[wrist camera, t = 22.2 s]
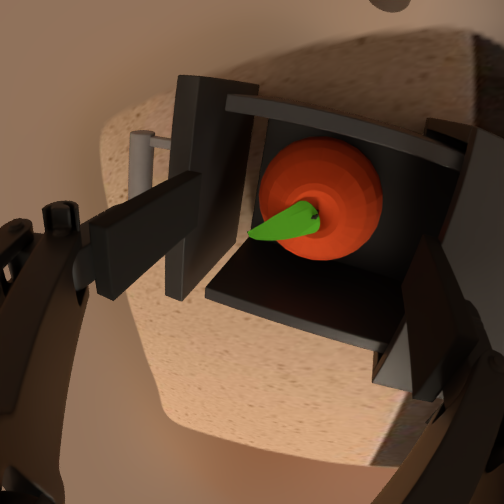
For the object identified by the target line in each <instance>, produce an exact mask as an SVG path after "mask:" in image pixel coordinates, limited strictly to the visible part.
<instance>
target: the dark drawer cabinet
mask: <svg viewBox="0 0 504 504" xmlns="http://www.w3.org/2000/svg"><path fill="white" fill-rule="evenodd" d="M423 135H424V136H427V137H430V138H433V139H436V140H438V141H441V142H444V143H446V144H449V145H452V146H454V147H457V148H459V149H462V150H464V151H466V153H465V157H464V161H463V164H462V168H461V171H460V175H459V178H458V181H457V184H456V188H455V191H454V194H453V197H452V200H451V203H450V206H449V209H448V212H447V215H446V217H445V220H444V223H443V226H442V228H441V231H440V234H439V236H438V240H439V242H440V244H441V246H442V248H443V250H444V252H445V254H446V257H447V259H448V261H449V263H450V265H451V268H452V270H453V272H454V274H455V277H456V279H457V281H458V284H459V286H460V289H461V291H462V293H463V296H464V298H465V299H466V300H469V301H471V303H472V304H473V305H474V306H475V308H476V309H477V310H478V312H479V315H480V317H481V321H482V322H483V325H484V329H485V330H486V333H487V336H488V338H489V341H490V344H491V347H492V350H495V351H497V352H499V353H501V354H502V355H503V356H504V139H503V138H501V137H499V136H497V135H495V134H493V133H491V132H489V131H486V130H484V129H482V128H480V127H476V126H472V125H467V124H462V123H457V122H452V121H446V120H441V119H435V118H427V120H426V125H425V129H424V133H423ZM372 383H375V384H379V385H383V386H387V387H391V388H395V389H399V390H404V391H408V392H412V378H411V364H410V352H409V342H408V332H407V324H406V316H405V314H404V316H403V318H402V320H401V322H400V324H399V326H398V328H397V330H396V332H395V334H394V335H393V337H392V339H391V341H390V343H389V345H388V347H387V348H386V350H385V352H384V354H383V353H379V352H375V351H374V355H373V373H372ZM437 398H441V399H444V398H443V390H442V392H441V393H440V394H439V395H438V396H437Z"/></svg>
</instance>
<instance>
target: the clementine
mask: <svg viewBox="0 0 504 504" xmlns="http://www.w3.org/2000/svg"><path fill="white" fill-rule="evenodd" d="M259 203H260V211H261V214H262V217H263V219H264V223H262V224H260V225H259V226H257V227H255V228H254V229H252V230H250V231H247V233H248V235H249V237H251V238H253V239H256V240H276V241H277V242H278V243H280V244H281V245H282V246H283V247H284V248H285V249H286V250H288V251H290V252H292V253H293V254H295V255H297V256H299V257H303V258H306V259H310V260H324V261H327V260H332V259H336V258H341V257H344V256H346V255H348V254H350V253H352V252H354V251H356V250H358V249H359V248H360V247H361V246H362V245H363V244H364V243H366V242H367V241H368V240H369V238H370V237H371V235H372V234H373V232H374V231H375V229H376V228H377V225H378V222H379V219H380V215H381V212H382V205H383V190H382V187H381V183H380V179H379V175H378V174H377V172H376V170H375V168H374V167H373V165H372V163H371V161H370V160H369V159H368V158H367V157H366V156H365V155H364V154H363V153H362V152H361V151H360V150H359V149H357V148H356V147H354V146H352V145H350V144H348V143H347V142H345V141H343V140H339V139H335V138H331V137H327V136H321V137H307V138H304V139H301V140H298V141H294V142H293V143H291V144H290V145H288V146H287V147H285V148H283V149H282V150H280V152H279V153H278V154H277V155H276V156H275V157H274V158H273V160H272V161H271V162H270V163H269V165H268V167H267V169H266V171H265V173H264V175H263V177H262V180H261V185H260V191H259Z"/></svg>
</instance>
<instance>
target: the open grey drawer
mask: <svg viewBox="0 0 504 504" xmlns="http://www.w3.org/2000/svg"><path fill="white" fill-rule="evenodd" d="M258 91H259V85H258V84H252V83H246V82H240V81H234V80H227V79H220V78H212V77H204V76H192V75H179V76H178V80H177V88H176V96H175V105H174V115H173V125H172V136H171V138H165V137H158V136H155V132H153V131H147V130H138V131H132V132H131V133H130V148H129V182H128V200H130V199H132V198H133V197H135V196H137V195H139V194H141V193H143V192H145V191H147V190H149V189H151V188H152V176H153V157H154V147H157V148H163V149H169V150H170V160H169V175H168V179H170V178H172V177H174V176H176V175H178V174H181V173H183V172H185V171H187V170H190V171H194V172H199V173H202V180H201V190H200V201H199V213H198V225H197V227H196V228H195V229H194V230H193V231H192V232H191V233H189V234H188V235H187V236H186V237H185V238H184V239H182V240H181V241H180V242H179V243H178V244H177V245H175V246H174V247H173V248H172V249H171V250H170V251H169V252H167V253H166V254H165V295H166V296H168V297H171V298H173V299H176V300H179V301H183V300H184V299H185V298H186V296H187V295H188V294H189V293H190V292H191V291H192V290H193V289H194V288H195V286H196V285H197V284H198V283H199V282H200V281H201V280H202V279H203V278H204V277H205V275H206V274H207V273H208V272H209V271H210V270H211V269H212V268H213V267H214V266H215V265H216V263H217V262H218V261H219V260H220V259H221V258H222V257H223V256H224V255H225V254H226V252H227V251H228V250H229V249H230V248H231V247H232V246H233V245H234V244H235V243H236V237H237V230H238V223H239V216H240V209H241V202H242V195H243V188H244V181H245V175H246V168H247V161H248V155H249V148H250V142H251V135H252V129H253V122H254V116H260V117H266V118H269V120H268V126H267V132H266V138H265V145H264V151H263V157H262V163H261V169H260V175H259V181H258V187H257V193H256V199H255V206H254V212H253V218H252V224H251V230H252V229H254V228H255V227H257V226H259V225H260V224H262V223H264V219H263V217H262V214H261V211H260V203H259V191H260V185H261V180H262V177H263V175H264V173H265V171H266V169H267V167H268V165H269V163H270V162H271V161H272V160H273V158H274V157H275V156H276V155H277V154H278V153H279V152H280V150H282V149H283V148H285V147H287V146H288V145H290V144H291V143H293V142H294V141H298V140H301V139H304V138H307V137H321V136H327V137H331V138H335V139H339V140H343V141H345V142H347V143H348V144H350V145H352V146H354V147H356V148H357V149H359V150H360V151H361V152H362V153H363V154H364V155H365V156H366V157H367V158H368V159H369V160H370V161H371V163H372V165H373V167H374V168H375V170H376V172H377V174H378V175H379V179H380V183H381V187H382V190H383V205H382V212H381V215H380V219H379V222H378V225H377V228H376V229H375V231H374V232H373V234H372V235H371V237H370V238H369V240H368V241H367V242H366V243H364V244H363V245H362V246H361V247H360V248H359V249H358V250H356V251H354V252H352V253H350V254H348V255H346V256H344V257H341V258H336V259H332V260H327V261H324V260H310V259H306V258H303V257H299V256H297V255H295V254H293V253H292V252H290V251H288V250H286V249H285V248H284V247H283V246H282V245H281V244H280V243H278V242H277V241H276V240H256V239H253V238H251V237H248V239H247V240H246V241H245V242H244V243H243V244H242V245H241V247H240V248H239V249H238V250H237V251H236V252H235V254H234V255H233V256H232V257H231V258H230V259H229V261H228V262H227V263H226V264H225V265H224V266H223V267H222V269H221V270H220V271H219V272H218V273H217V274H216V276H215V277H214V278H213V279H212V280H211V281H210V283H209V284H208V285H207V286H206V287H205V298H206V299H209V300H212V301H215V302H218V303H221V304H223V305H226V306H229V307H232V308H235V309H238V310H241V311H244V312H247V313H250V314H253V315H256V316H259V317H262V318H265V319H268V320H271V321H274V322H277V323H281V324H284V325H287V326H290V327H293V328H296V329H300V330H303V331H306V332H309V333H313V334H316V335H319V336H323V337H326V338H329V339H333V340H336V341H340V342H343V343H347V344H350V345H354V346H357V347H361V348H364V349H368V350H371V351H375V352H379V353H383V354H384V352H385V350H386V348H387V347H388V345H389V343H390V341H391V339H392V337H393V335H394V334H395V332H396V330H397V328H398V326H399V324H400V322H401V320H402V318H403V316H404V314H405V308H404V301H403V294H402V287H401V285H402V283H403V281H404V279H405V276H406V274H407V272H408V269H409V267H410V265H411V262H412V260H413V257H414V255H415V253H416V250H417V248H418V245H419V242H420V240H421V237H422V235H423V234H426V235H429V236H432V237H435V238H438V236H439V234H440V231H441V228H442V226H443V223H444V220H445V217H446V215H447V212H448V209H449V206H450V203H451V200H452V197H453V194H454V191H455V188H456V184H457V181H458V178H459V175H460V171H461V168H462V164H463V161H464V157H465V153H466V151H464V150H462V149H459V148H457V147H454V146H452V145H449V144H446V143H444V142H441V141H438V140H436V139H433V138H430V137H427V136H424V135H422V134H419V133H416V132H413V131H410V130H407V129H404V128H401V127H397V126H394V125H391V124H388V123H384V122H381V121H377V120H374V119H370V118H367V117H363V116H360V115H356V114H352V113H348V112H344V111H340V110H336V109H332V108H327V107H323V106H318V105H314V104H309V103H304V102H299V101H294V100H289V99H283V98H278V97H268V96H258Z"/></svg>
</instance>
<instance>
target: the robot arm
mask: <svg viewBox="0 0 504 504" xmlns="http://www.w3.org/2000/svg"><path fill="white" fill-rule="evenodd" d="M201 180H202V173H199V172H194V171H190V170H187V171H185V172H183V173H181V174H178V175H176V176H174V177H172V178H170V179H168V180H166V181H164V182H162V183H160V184H158V185H156V186H154V187H152V188H151V189H149V190H147V191H145V192H143V193H141V194H139V195H137V196H135V197H133V198H132V199H130V200H128V201H126V202H124V203H122V204H118V205H115V206H113V207H111V208H109V209H107V210H106V211H105V212H102V213H100V214H98V216H97V215H96V216H95V217H93V218H91V219H90V220H88V221H86V222H84V223H82V224H81V225H80V220H79V207H78V204H77V203H75V202H73V201H57V202H53V203H50V204H48V205H46V206H45V207H44V208H42V213H43V220H44V227H45V233H44V234H41V233H34V232H33V226H32V222H31V221H30V220H28V219H21V218H18V219H14V220H12V221H10V222H8V223H6V224H5V225H3V226H2V227H1V228H0V504H65V494H64V493H65V491H64V485H63V481H62V478H61V475H60V471H59V456H60V445H61V436H62V428H63V419H64V413H65V405H66V399H67V392H68V387H69V381H70V376H71V371H72V366H73V361H74V356H75V351H76V346H77V342H78V338H79V333H80V329H81V325H82V321H83V317H84V313H85V309H86V305H87V301H88V298H89V288H88V285H89V284H90V283H92V282H93V281H94V280H95V282H96V288H97V293H98V294H99V295H102V296H104V297H106V298H108V299H110V300H112V301H114V300H115V299H116V298H117V297H118V296H119V295H121V294H122V293H123V292H124V291H125V290H126V289H127V288H128V287H129V286H130V285H132V284H133V283H134V282H135V281H136V280H137V279H138V278H139V277H140V276H141V275H143V274H144V273H145V272H146V271H147V270H148V269H149V268H150V267H152V266H153V265H154V264H155V263H156V262H157V261H158V260H159V259H161V258H162V257H163V256H164V255H165V254H166V253H167V252H169V251H170V250H171V249H172V248H173V247H174V246H175V245H177V244H178V243H179V242H180V241H181V240H182V239H184V238H185V237H186V236H187V235H188V234H189V233H191V232H192V231H193V230H194V229H195V228H196V227H197V225H198V213H199V201H200V190H201ZM7 264H8V267H9V271H10V274H11V279H10V280H9V281H7V280H6V278H5V274H4V271H3V268H4V267H5V266H6V265H7ZM401 287H402V294H403V301H404V308H405V316H406V324H407V332H408V342H409V352H410V364H411V378H412V398H413V399H417V400H422V401H428V402H433V401H434V400H435V399H436V398H437V396H438V395H439V394H440V393H441V392H442V390H443V398H444V402H443V403H442V404H441V405H440V407H439V408H438V409H437V410H436V411H435V412H434V413H433V414H432V415H431V417H430V418H429V419H428V420H427V421H426V422H425V423H427V424H428V423H429V424H428V425H427V427H426V429H425V430H424V432H423V433H422V435H421V437H420V438H419V440H418V441H417V443H416V444H415V446H414V447H413V449H412V450H411V452H410V453H409V455H408V456H407V457H406V459H405V460H404V462H403V463H402V464H401V466H400V467H399V469H398V470H397V471H396V473H395V474H394V475H393V477H392V478H391V479H390V481H389V482H388V483H387V484H386V486H385V487H384V488H383V489H382V491H381V492H380V493H379V494H378V496H377V497H376V498H375V499H374V500H373V502H372V503H371V504H504V356H503V355H502V354H501V353H499V352H497V351H495V350H492V347H491V344H490V341H489V338H488V336H487V333H486V330H485V329H484V325H483V322H482V321H481V317H480V315H479V312H478V310H477V309H476V308H475V306H474V305H473V304H472V303H471V301H469V300H466V299H465V298H464V296H463V293H462V291H461V289H460V286H459V284H458V281H457V279H456V277H455V274H454V272H453V270H452V268H451V265H450V263H449V261H448V259H447V257H446V254H445V252H444V250H443V248H442V246H441V244H440V242H439V240H438V238H435V237H432V236H429V235H426V234H423V235H422V237H421V240H420V242H419V245H418V248H417V250H416V253H415V255H414V257H413V260H412V262H411V265H410V267H409V269H408V272H407V274H406V276H405V279H404V281H403V283H402V285H401ZM2 486H3V487H4V488H5V490H6V491H1V490H2Z"/></svg>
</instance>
